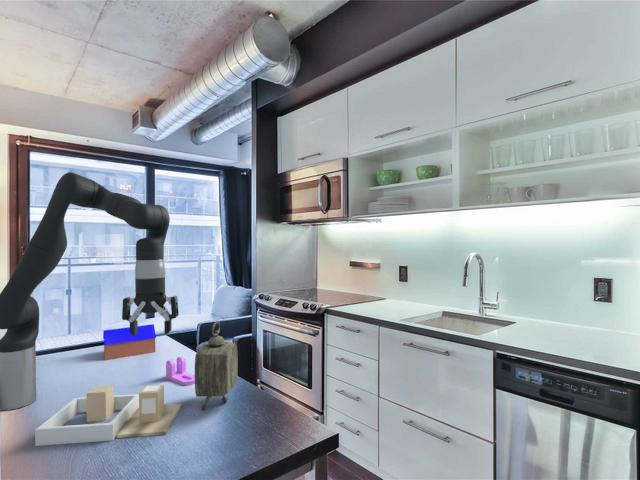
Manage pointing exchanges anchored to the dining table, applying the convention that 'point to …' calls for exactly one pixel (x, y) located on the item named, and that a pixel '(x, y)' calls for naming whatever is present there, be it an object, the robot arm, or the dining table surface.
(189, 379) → the bracket
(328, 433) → the dining table surface
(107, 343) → the house
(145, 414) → the labelled box
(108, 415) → the plain box
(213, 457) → the dining table surface
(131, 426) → the board
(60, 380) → the dining table surface
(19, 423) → the dining table surface
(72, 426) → the bin
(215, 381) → the tabletop clock
